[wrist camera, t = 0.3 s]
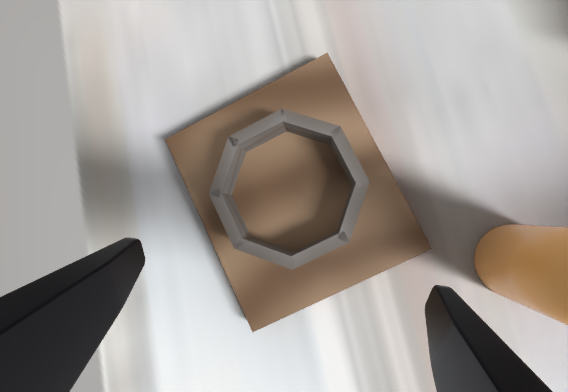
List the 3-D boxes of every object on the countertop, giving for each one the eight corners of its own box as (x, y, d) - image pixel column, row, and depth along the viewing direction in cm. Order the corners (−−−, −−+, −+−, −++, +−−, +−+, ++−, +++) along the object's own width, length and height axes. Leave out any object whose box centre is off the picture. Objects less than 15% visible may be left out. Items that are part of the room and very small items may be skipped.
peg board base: (424, 246, 23) (446, 253, 19) (256, 324, 24) (244, 346, 20) (326, 62, 24) (328, 33, 20) (174, 143, 25) (147, 130, 21)
